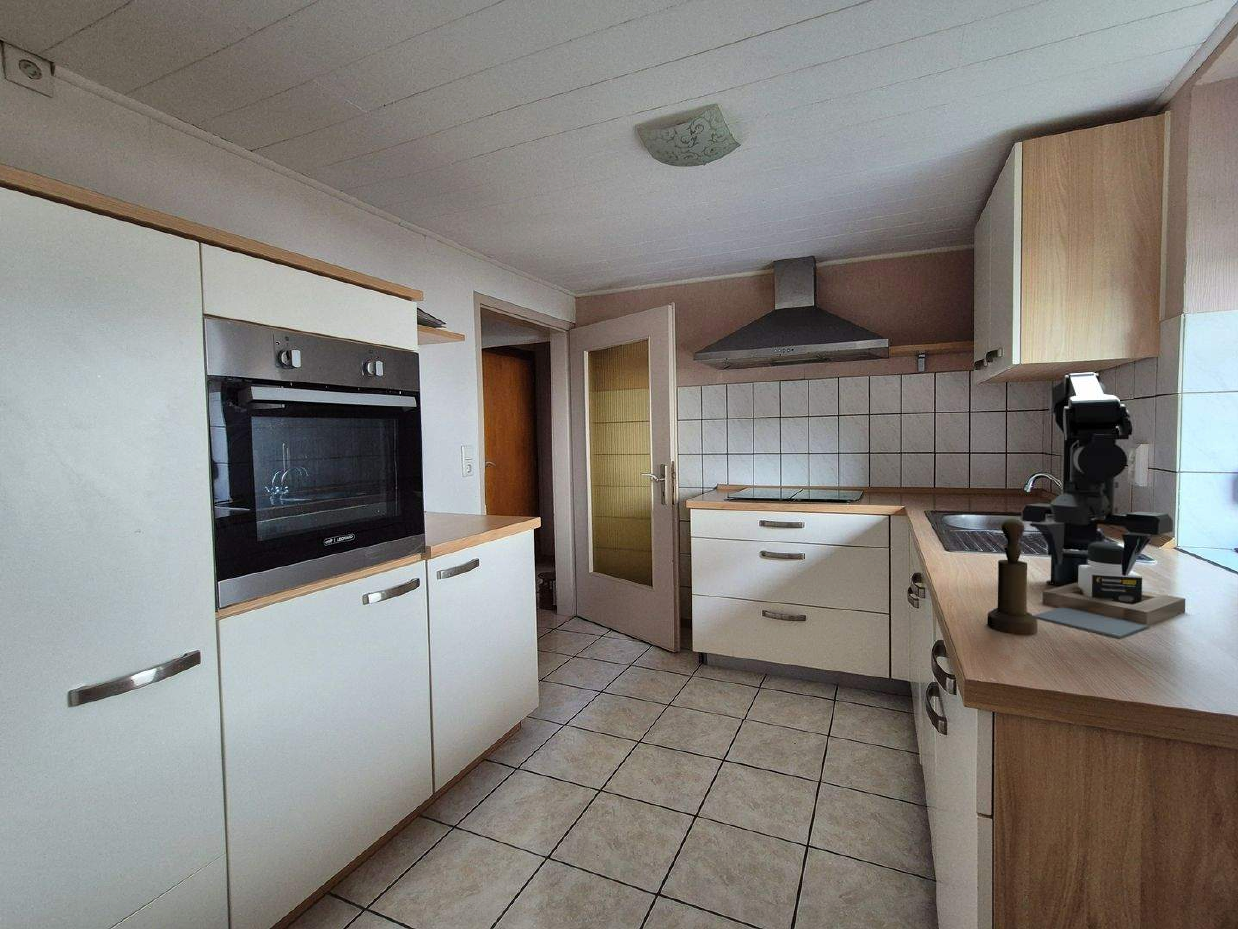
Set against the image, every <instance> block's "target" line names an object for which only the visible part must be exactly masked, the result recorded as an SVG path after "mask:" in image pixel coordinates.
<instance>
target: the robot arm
mask: <svg viewBox="0 0 1238 929" xmlns="http://www.w3.org/2000/svg"><path fill="white" fill-rule="evenodd" d="M1050 390H1051V391H1050V396H1049V415H1053V416H1052V418H1053V420H1052V421H1053V423H1054V424H1055V427H1057V429H1058V430H1059V431H1060V433H1061V435H1062V444H1061V445H1062V447H1061V449H1062V451H1061V494H1060V495H1058V496H1056V497H1055V498H1054V499H1053V500H1051V502H1050V503H1041V502H1040V503H1038V502H1037V503H1031V504H1025V505H1024V506H1023V507H1022V509H1021V511H1020V521H1021V522H1030V523H1028V525H1029V526H1030V527H1032V528H1035V529H1036V530H1038V532H1040V534H1042V536H1043V538H1044V540H1045V545H1046V546H1045V552H1046V554H1047V555H1048V556H1050V579H1048V580H1046V584H1048V585H1053V586H1058V587H1061V586H1065V585H1069V584H1072V583H1076V582H1078V568H1079V565H1090V564H1088V545H1089V544H1091V543H1094V542H1106V541H1105V540H1106V535H1104V534H1103V533H1102V530H1101V528H1098V525H1107V526H1116V527H1123V528H1125V530H1126V531H1128V532H1125V533H1121V537H1122V541H1123V544H1124V549H1123V558H1122V575H1123V576H1127V575H1128V574H1129V572H1130V571H1132V569H1133V568H1134V566H1135V564H1136V562H1137V560H1138V558H1139V557H1140V555H1141V553H1142V552H1143V550H1144V549H1145V548H1146V547H1147V545H1148V544H1149V543H1150V541H1151V540H1153V539H1155V538H1160V537H1162V535H1163V534H1169V533H1173V529H1174V525H1173V524H1174V521H1173V519H1172V517H1171V516H1170V515H1169V514H1168V513H1162V512H1150V511H1135V512H1129V513H1126V515H1125V514H1118V513H1119V512H1118V511H1119V507H1118V506H1115V504H1116V503H1115V501H1116V500H1115V499H1116V498H1115V496H1116V489H1118V488H1119V481H1116V477H1117V476H1119V475H1121V474H1122V473H1123V472H1124V470H1125V468H1126V467H1127V464H1128V457H1127V454H1126V452H1125V451H1124V449H1122V447H1120V446H1119V445H1118V444H1116V443H1117V442H1116V441H1123V440H1125V441H1126V440H1127V441H1128V440H1129V438H1130V436H1132V435H1133V425H1132V421H1131V414H1130V411H1128V409H1127V406H1126V405H1125V404H1121V401H1120V399H1119V397H1117V396H1115V395H1112V394H1107V393H1106V385H1105V384H1103V383H1102V382H1100V375H1099V373H1095V372H1083V373H1082V372H1079V373H1069V374H1068V375H1064V377H1063V381H1061V382H1060V383H1058V384H1057V385H1054V386H1053V387H1052V388H1051V389H1050Z"/></svg>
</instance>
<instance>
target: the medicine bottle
mask: <svg viewBox="0 0 1238 929" xmlns="http://www.w3.org/2000/svg"><path fill="white" fill-rule="evenodd" d="M1123 549H1124V543H1120V542H1110V541H1104V542H1094V543H1091V544H1089V545H1088V564H1090V565H1079V568H1078V587H1079V588H1081V589H1082V595H1085V596H1090V597H1095V598H1100V599H1105V600H1110V601H1115V602H1120V603H1126V604H1131V605H1133V604H1136V603H1139V602H1142V591H1143V590H1142V589H1143V576H1142V575H1141V574H1139V573H1137V572H1134V571H1133V570H1131V571H1130V572H1129V574H1128V575H1127V576H1123V575H1122V558H1123Z"/></svg>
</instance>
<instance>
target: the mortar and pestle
mask: <svg viewBox="0 0 1238 929" xmlns="http://www.w3.org/2000/svg"><path fill="white" fill-rule="evenodd" d="M1001 532H1002V533H1003V535H1004V536H1005V538H1006V540H1007V544H1006V545H1005V546H1003V547H1004V552H1005V557H1006V558H1007V559H999V560H998V561H997V578H998V579H997V607H995V608H993V609H992V610H991V611H989V612H988V613H987V623H986V626H987V627H988V628H989V629H990V630H991V629H992V630H993V631H996V632H1000V633H1003V634H1009V635H1015V636H1033V635H1036V634H1037V633H1038V619H1037V618H1035V617H1033V614H1032V613H1030V612H1028V598H1027V596H1028V562H1026V561H1021V560H1019V559H1020V556H1021V553H1022V547H1021V546H1020V545H1019V540H1020V539H1021V537H1022V536H1023V534H1024V532H1025V525H1024V523H1023V521H1022V520H1019V519H1016V518H1009V519H1005V520H1004V521H1003V522H1002V524H1001Z"/></svg>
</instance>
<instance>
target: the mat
mask: <svg viewBox="0 0 1238 929" xmlns="http://www.w3.org/2000/svg"><path fill="white" fill-rule="evenodd" d="M1032 616H1033V617H1035V618H1036V619H1037V620H1042V621H1045V622H1050V623H1053V624H1058V625H1062V626H1065V627H1070V628H1074V629H1078V630H1080V631H1081V630H1083V631H1085V632H1090V633H1094V634H1098V635H1103V636H1107V637H1110V638H1115V639H1118V640H1122V639H1123V638H1126V637H1129V636H1132V635H1135V634H1138V633H1140V632H1143V631H1145V630H1148V629H1150V626H1149V625H1146V624H1142V623H1137V622H1132V621H1128V620H1123V619H1119V618H1114V617H1109V616H1105V615H1100V614H1095V613H1091V612H1086V611H1081V610H1077V609H1072V608H1067V607H1056V608H1053V609H1050V610H1047V611H1044V612H1040V613H1036V614H1034V615H1033V614H1032Z"/></svg>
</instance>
